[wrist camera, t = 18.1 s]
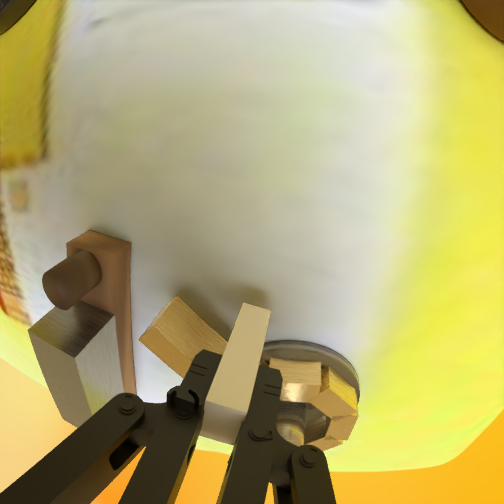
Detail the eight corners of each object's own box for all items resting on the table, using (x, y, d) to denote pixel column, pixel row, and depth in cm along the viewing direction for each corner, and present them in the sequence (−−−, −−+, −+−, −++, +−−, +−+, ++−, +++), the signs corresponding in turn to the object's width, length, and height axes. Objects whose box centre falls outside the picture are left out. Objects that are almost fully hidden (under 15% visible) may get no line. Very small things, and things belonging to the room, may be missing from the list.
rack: (107, 388, 25) (81, 425, 20) (89, 230, 18) (33, 262, 13) (137, 401, 25) (113, 442, 20) (130, 242, 18) (76, 282, 13)
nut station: (217, 410, 23) (193, 477, 16) (237, 323, 19) (205, 408, 12) (328, 434, 22) (325, 502, 16) (381, 357, 18) (398, 442, 11)
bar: (126, 403, 21) (102, 441, 17) (88, 385, 22) (63, 419, 17) (115, 314, 17) (74, 358, 13) (69, 294, 17) (27, 330, 13)
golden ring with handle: (282, 445, 22) (278, 476, 19) (135, 334, 19) (112, 363, 16) (375, 407, 18) (379, 441, 15) (217, 258, 16) (196, 287, 13)
